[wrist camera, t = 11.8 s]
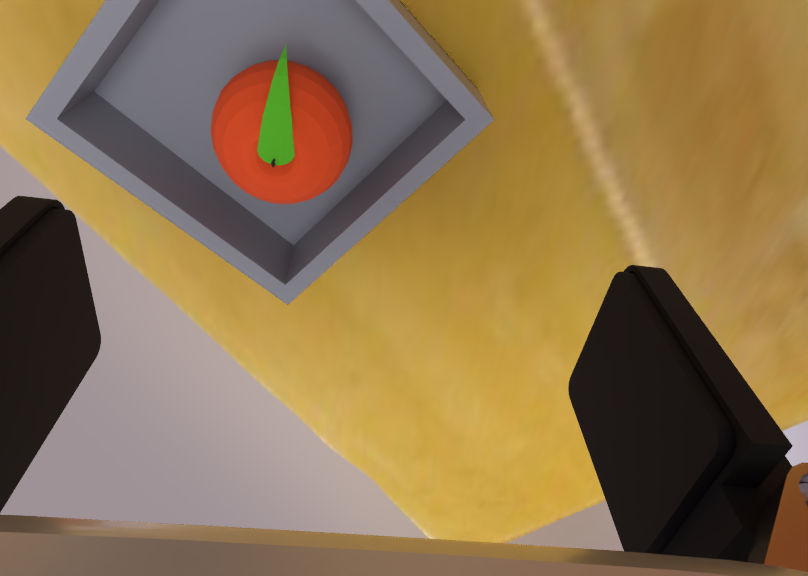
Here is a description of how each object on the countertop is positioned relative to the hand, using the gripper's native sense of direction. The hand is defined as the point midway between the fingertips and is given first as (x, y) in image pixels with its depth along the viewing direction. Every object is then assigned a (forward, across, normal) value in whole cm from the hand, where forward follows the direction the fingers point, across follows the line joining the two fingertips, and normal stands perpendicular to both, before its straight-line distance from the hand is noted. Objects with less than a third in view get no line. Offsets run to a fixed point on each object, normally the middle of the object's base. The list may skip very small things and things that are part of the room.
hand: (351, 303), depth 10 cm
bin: (+24, +5, +4) cm, 24 cm away
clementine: (+23, +4, +4) cm, 24 cm away
